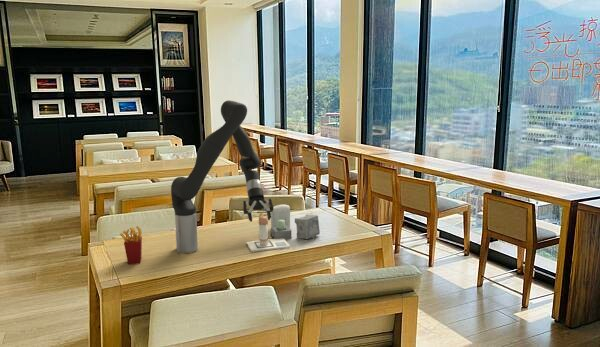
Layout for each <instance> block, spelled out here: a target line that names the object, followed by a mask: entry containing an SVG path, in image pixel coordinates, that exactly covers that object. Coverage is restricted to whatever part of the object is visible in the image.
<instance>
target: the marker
mask: <svg viewBox="0 0 600 347" xmlns="http://www.w3.org/2000/svg"><path fill="white" fill-rule="evenodd" d="M268 221H269V220H268V217H267V215H261V216H258V228H259V230H258V232H259V233H258V234H259V241H260V245H261V246H266V245H268V240H269V233H268V232H269V228H268V224H269V222H268Z"/></svg>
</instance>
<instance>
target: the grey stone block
mask: <svg viewBox="0 0 600 347" xmlns="http://www.w3.org/2000/svg"><path fill="white" fill-rule="evenodd" d="M294 223H295V225H296V238H298V239H306V240H308V239H314V238H315V237H316V236H318V235H320V231H321V230H320V222H319V216H318V215H315V214H306V215H305V216H301V217H295V218H294Z"/></svg>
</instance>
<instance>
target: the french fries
mask: <svg viewBox="0 0 600 347" xmlns="http://www.w3.org/2000/svg"><path fill="white" fill-rule="evenodd" d="M136 229H137V231H138V232H137V231H136V230H135V227H130V228H129V229H127V230H123V232H121V233H120V234H119V235H120V237H121V238H122V239H123V240H124V242H123V245H124V251H125V256H126V261H127V265H135V264H136V263H138V264H141V262H142V248H143V245H142V244H143V243H142V242H143V239H142V238H143V237H142V234H143V233H142V229H141V227H140V225H137V226H136ZM129 232H130V234H129ZM136 265H137V264H136Z"/></svg>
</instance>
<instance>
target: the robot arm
mask: <svg viewBox="0 0 600 347" xmlns="http://www.w3.org/2000/svg"><path fill="white" fill-rule="evenodd" d="M220 114H221V117H222V118H223V121H224V122H225V123H224V124H223V125H222V126H220V127H219V128H218V129H216V130H215V131H213V132H212V133H210V134H209V135H208V136H207V137H206V138H204V140H203V141H202V143H201V144H200V146H199V148H198V150H197V153H196V157H195V162H194V163H195V164H194V167H193V169H192V170H191V172H190V174H189V175H187V177H185V176H179V177H178V176H177V177H176V178H175V179H174V180H173V181H172V182H171V185H170V186H171V187H170V194H171V204H172V208H173V210H174V221H175V222H174V223H175V242H176V243H175V244H176V245H175V246H176V252H177V253H178V254H179V253H180V254H181V253H182V254H190V253H194V252H197V251H198V250H199V246H198V245H199V242H198V224H197V223H198V221H197V220H198V219H197V208H196V206H195V204H194V202H193V199H194V198H195V197H196V196H197V195H198V193H199V191H200V189H201V187H202V186H203V183H204V181H205V179H206V178H207V176H208V174H209V172H210V170H211V169H212V168H213V166H214V164H215V163H216V161H217V160H218V158H219V156H220V155H221V153H222V152H223V150H224V149H225V147H226V145H227V144H228V142H229V141H230V139H232V138H233V139H234V142H235V144H236V148H237V151H238V153H239V155H240V157H241V158H240V160H239V162H238V163H239V167H240V169H241V171H242V172H243V173H242V174H244V178H245V181H246V182H245V183H246V192H247V198H248V201H246V200H243V202H242V211H243V214H244V215H247V217H248V221H249V222H252V223H253V215H252V212H253V210H254V211H257V210H260V211H261V210H263V211H264V212H266V216H267V217H268V221H271V212H273V209H274V208H273V207H274V204H273V200H272V199H271V198H269V199H266V198H265V194H264V190H263V184H262V181H261V176H260V173H259V171H257V170H256V169H259V168H260V167H261V159H260V157H259V156H258V154H257V153H256V152H255V149H254V148H253V146H252V143H251V142H252V141H251V139H250V137H249V135H248V134H247V132H245V130H244V129H243V127H242V123H244V121H245V119H246V117H247V114H248V107H247V106H246V104H244V103H242V102H237V101H234V100H226V101H223V103H222V104H221V106H220ZM247 206H250V207H249V209H248V210H247Z"/></svg>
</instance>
